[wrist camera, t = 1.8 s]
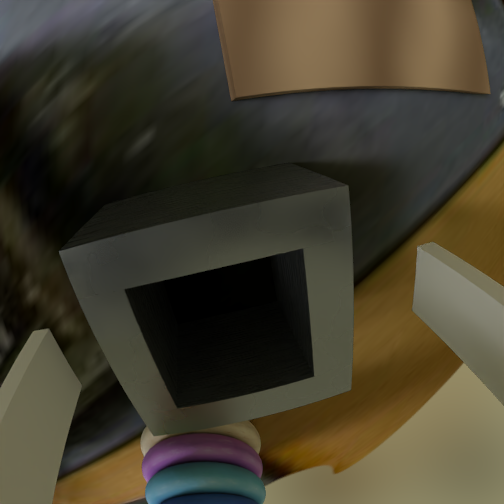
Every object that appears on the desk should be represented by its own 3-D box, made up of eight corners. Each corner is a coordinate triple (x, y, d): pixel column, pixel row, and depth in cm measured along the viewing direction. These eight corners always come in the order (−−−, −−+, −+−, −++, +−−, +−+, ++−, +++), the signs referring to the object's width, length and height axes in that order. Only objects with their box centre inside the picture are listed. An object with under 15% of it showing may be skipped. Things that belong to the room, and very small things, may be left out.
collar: (158, 352, 16) (153, 436, 11) (106, 204, 12) (58, 251, 7) (307, 317, 16) (350, 389, 11) (289, 162, 13) (348, 185, 8)
